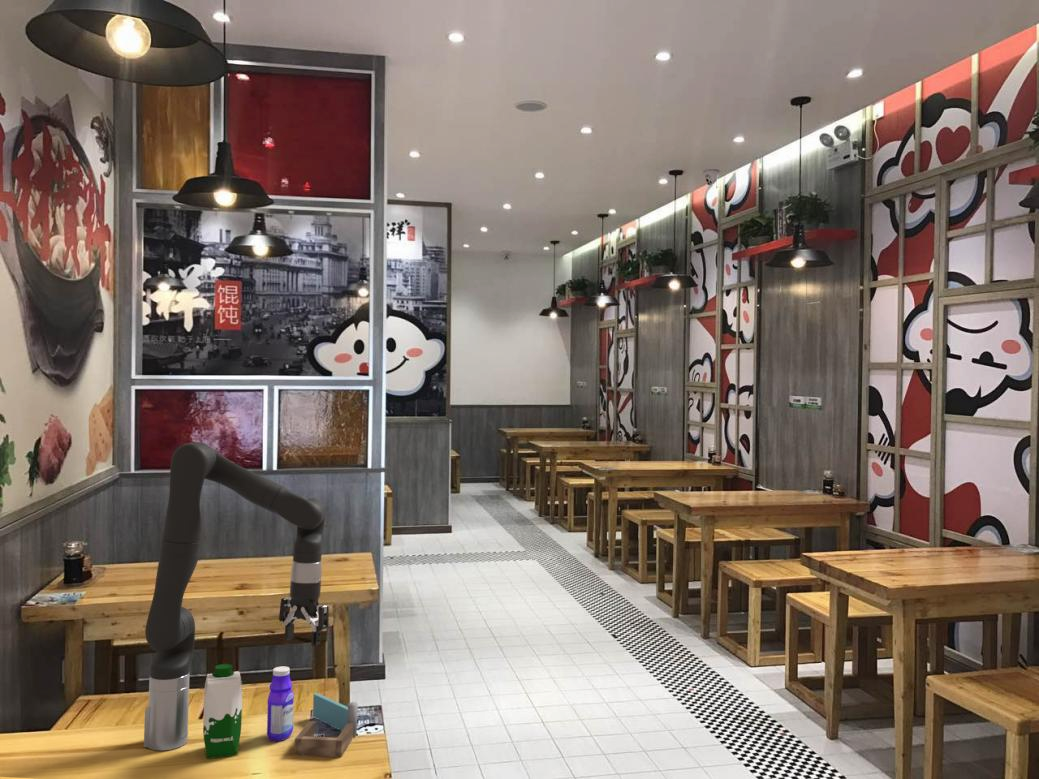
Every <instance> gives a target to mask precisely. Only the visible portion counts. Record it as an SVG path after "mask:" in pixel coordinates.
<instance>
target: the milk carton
mask: <svg viewBox="0 0 1039 779" xmlns="http://www.w3.org/2000/svg"><path fill="white" fill-rule="evenodd" d="M242 687H243V683H242V678H241V674H240V671H237V670H236V671H233V665H232V664H229V663H222V664H221V663H220V664H218V665H216V666H214V672H212V673H207V674H206V679H205V683H204V691H203V697H204V700H203V726H202V727H203V728H202V731H203V732H202V734H203V742H204V749H205V750H204V751H205V756H206V760H207V759H208V760H209V759H215V758H223V757H224V758H225V757H232V756H238V752H239V746H240V745H239V744H240V740H241V735H242V717H243V715H242V714H243V689H242Z"/></svg>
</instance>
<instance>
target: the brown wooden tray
mask: <svg viewBox="0 0 1039 779" xmlns="http://www.w3.org/2000/svg"><path fill="white" fill-rule="evenodd" d="M315 724H316V721H315V720H313V721H312V720H311V721H310V720H309V721H307V723H306V725H305V726H304V727H303V728H302V729H301V731H300V732H299V733H298V734H297V735H296V737H295V738H294V756H305V757H306V756H307V757H309V756H310V757H325V758H326V757H329V758H342V757H343V755H344V754H345V752H346V751H347V749H348V747H349V746H350V744H351V743H352V741H353V740H352V738H353V739H354V737H353V723H347V724H346V726H345V727H344V729H343V730H341V732H340V733H339V735H338V736H337V737H329V736H327V737H326V736H324V737H323V736H315V731H316V730H315V728H316V725H315ZM351 740H352V741H351ZM350 742H351V743H350ZM348 745H349V746H348Z"/></svg>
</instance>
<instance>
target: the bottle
mask: <svg viewBox="0 0 1039 779" xmlns="http://www.w3.org/2000/svg"><path fill="white" fill-rule="evenodd" d="M290 670H291V669H290V667H289V666H277V667H274V668H273V669H272V681H271V683H270V684H269V690H270V691H269V693H268V697H267V702H266V703H267V708H266V709H267V721H266V737H267V739H268V740H270V741H275V742H280V741H282V742H283V741H284V740H286V739H288V738H289V737H290V736H291V735H292V733H293V731H294V701H295V699H294V698H295V695H294V691H293V689H292V688H293V682H292V680H291V678H290V673H291V672H290Z"/></svg>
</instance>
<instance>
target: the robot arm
mask: <svg viewBox="0 0 1039 779" xmlns="http://www.w3.org/2000/svg"><path fill="white" fill-rule="evenodd" d="M169 470H170V471H169V494H168V495H169V497H168V503H167V507H166V511H165V516H164V518H165V519H164V523H163V530H162V534H161V539H160V540H161V541H160V547H159V556H158V564H157V569H156V578H155V585H154V592H153V597H152V599H151V600H152V601H151V604H150V608H149V612H148V615H147V620H146V624H145V628H144V632H145V640H146V642H147V644H148V646H149V647H150V649H152V650H154V651H155V652H157V653H156V655H155V657H154V659H153V660H152V662H151V663H150V666H149V682H148V683H149V684H148V705H147V706H146V707H145V708H144V709H145V710H144V726H143V728H144V731H143V732H144V733H143V748H147V749H149V750H153V751H170V750H174V749H178V748H181V747H182V746H184V745H185V744H187V743H188V739H189V706H190V704H189V700H190V674H191V671H190V670H191V669H190V667H191V663H192V662H193V658H194V651H195V638H196V636H195V635H196V624H195V619H194V618H195V617H194V615H193V614H192V612H191V611H190V610H189V609H188V608H186V607H183V606H182V605H183V599H184V594H185V592H186V589H187V587H188V585H189V584H190V580H191V578H192V576H193V574H194V572H195V569H196V566H197V564H198V562H199V558H200V553H201V544H202V538H203V536H202V535H203V523H202V515H201V496H202V490H203V487H204V486H203V485H204V480H208V481H211V482H214V483H217V484H220V485H222V486H224V487H226V488H228V489H229V490H232V491H233V492H235V493H236V494H238V495H239V496H240V497H242V498H244V499H245V500H247V501H248V502H250V503H252V504H254V505H256V506H258V507H260V508H262V509H264V510H266V511H269V512H271V513H273V514H275V515H278V516H279V517H281V518H282V519H284V520H286V521H287V522H289V523H290V524H292V525H294V526H296V538H295V540H294V544H293V552H292V563H291V571H290V585H289V586H290V587H289V596H286V597H283V598H281V599H280V604H279V606H280V607H279V613H278V614H279V615H278V616H279V617H278V621H279V622H282V623H283V624H284V637H285V640H287V641H291V640H293V639H294V636H295V635H294V634H295V624H294V623H296V622H295V621H296V620H297V619H301V620H303V621H306V622H307V624H308V625H310V628H311V629H312V631H311V640H310V641H311V642H310V643H311V644H310V645H311V647H314V648H315V647H317V646H319V645H320V644H321V639H322V637H321V636H322V631H324V630H327V629H328V628H329V621H330V620H329V615H330V614H329V609H330V608H329V605H328V604H324V605H323V604H319V598H320V597H321V591H322V590H321V589H322V570H323V569H322V554H323V553H322V551H323V544H322V543H323V542H322V541H323V533H324V527H325V521H326V520H325V519H326V517H325V516H326V508H325V506H324V504H323V503H322V502H321V501H320V500H319V499H316V498H307V499H306V498H303V497H301V496H299V495H297V494H295V493H293V492H292V490H290V489H289V488H288V487H286V486H283V485H282V484H279V483H277V482H275V481H273V480H271V479H269V478H267V477H264V476H262V475H259V474H258V473H255V472H253V471H250V470H249V469H246V468H245V467H243V466H241V465H239V464H237V463H235V462H234V461H232V460H230V459H228V458H227V457H225V456H224V455H223V454H221V453H220V452H218V451H217V450H215V449H214V448H212V447H211V446H210V445H208V444H206V443H204V442H200V441H194V442H193V441H192V442H189V443H184V444H183V445H180V446H179V447H177V449H175V451H174V452H173V454H172V456H171V459H170V468H169Z"/></svg>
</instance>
